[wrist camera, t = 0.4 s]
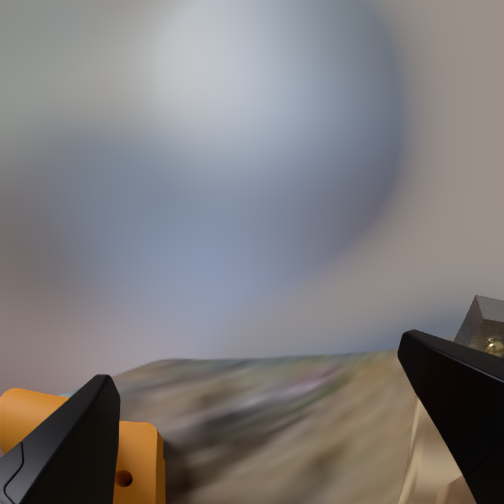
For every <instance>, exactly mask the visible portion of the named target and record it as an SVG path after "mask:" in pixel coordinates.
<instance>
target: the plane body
mask: <svg viewBox="0 0 504 504" xmlns="http://www.w3.org/2000/svg"><path fill="white" fill-rule="evenodd" d="M398 504H476V502H475V500H474V497H473V495H472V493H471V491H470V489H469V487H468V485H467V483H466V481H465V479H464V477H463V475H462V473H461V471H460V469H459V468H458V466H457V464H456V462H455V460H454V458H453V456H452V455H451V453H450V451H449V449H448V447H447V446H446V444H445V442H444V440H443V439H442V437H441V435H440V433H439V432H438V430H437V428H436V426H435V425H434V423H433V421H432V420H431V418H430V416H429V415H428V413H427V411H426V410H425V408H424V406H423V405H422V403H421V401H420V400H419V398H418V396H417V395H416V401H415V413H414V422H413V431H412V438H411V445H410V452H409V458H408V463H407V468H406V473H405V478H404V483H403V487H402V491H401V495H400V499H399V503H398Z"/></svg>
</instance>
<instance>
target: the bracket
mask: <svg viewBox="0 0 504 504" xmlns="http://www.w3.org/2000/svg"><path fill="white" fill-rule="evenodd" d="M68 399H69V398H67V397H61V396H55V395H49V394H44V393H39V392H34V391H29V390H24V389H20V388H13V389H10V390H8V391H6V392H5V393H4V394H3V395H2V396H1V398H0V447H1V449H2V450H3V452H4V454H6V453H7V452H9V451H10V450H11V449H12V448H13V447H15V446H16V445H17V444H18V443H19V442H20V441H22V440H23V439H24V438H25V437H26V436H27V435H28V434H29V433H30V432H31V431H33V430H34V429H35V428H36V427H37V426H38V425H39V424H41V423H42V422H43V421H44V420H45V419H46V418H47V417H48V416H50V415H51V414H52V413H53V412H54V411H55V410H56V409H58V408H59V407H60V406H61V405H62V404H63V403H64V402H66V401H67V400H68ZM132 479H133V481H132V483H131V485H129V486H127V483H128V481H130V480H132ZM113 504H166V496H165V460H164V459H163V438H162V437H161V435H160V434H159V432H158V431H157V429H156V428H155V426H154V425H152V424H150V423H144V422H128V421H119V447H118V456H117V464H116V473H115V484H114V496H113Z"/></svg>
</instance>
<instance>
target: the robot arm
mask: <svg viewBox="0 0 504 504" xmlns="http://www.w3.org/2000/svg"><path fill="white" fill-rule="evenodd" d="M398 359H399V361H400V363H401V365H402V367H403V369H404V371H405V373H406V375H407V377H408V379H409V381H410V383H411V385H412V387H413V389H414V391H415V393H416V395H417V396H418V398H419V400H420V401H421V403H422V405H423V406H424V408H425V410H426V411H427V413H428V415H429V416H430V418H431V420H432V421H433V423H434V425H435V426H436V428H437V430H438V432H439V433H440V435H441V437H442V439H443V440H444V442H445V444H446V446H447V447H448V449H449V451H450V453H451V455H452V456H453V458H454V460H455V462H456V464H457V466H458V468H459V469H460V471H461V473H462V475H463V477H464V479H465V481H466V483H467V485H468V487H469V489H470V491H471V493H472V495H473V497H474V500H475V502H476V504H504V358H503V357H499V356H496V355H493V354H489V353H486V352H483V351H480V350H477V349H473V348H470V347H467V346H464V345H461V344H458V343H455V342H451V341H448V340H445V339H442V338H439V337H436V336H433V335H430V334H427V333H424V332H420V331H418V330H410V331H407V332H405V333H403V335H402V338H401V341H400V346H399V349H398ZM119 421H120V395H119V393H118V391H117V388H116V386H115V384H114V382H113V380H112V378H111V376H110V375H105V374H101V375H100V374H98V375H96V376H94V377H93V378H92V379H91V380H90V381H89V382H88V383H86V384H85V385H84V386H83V387H82V388H80V389H79V390H78V391H77V392H76V393H75V394H74V395H72V396H71V397H70V398H69V399H68V400H67V401H66V402H64V403H63V404H62V405H61V406H60V407H59V408H58V409H56V410H55V411H54V412H53V413H52V414H51V415H50V416H48V417H47V418H46V419H45V420H44V421H43V422H42V423H41V424H39V425H38V426H37V427H36V428H35V429H34V430H33V431H31V432H30V433H29V434H28V435H27V436H26V437H25V438H24V439H23V440H22V441H20V442H19V443H18V444H17V445H16V446H15V447H13V448H12V449H11V450H10V451H9V452H7V453H6V454H5V455H4V456H3V457H1V458H0V504H113V496H114V484H115V473H116V464H117V456H118V447H119Z"/></svg>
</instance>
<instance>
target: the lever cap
mask: <svg viewBox="0 0 504 504" xmlns="http://www.w3.org/2000/svg"><path fill="white" fill-rule="evenodd" d="M453 342H455V343H458V344H461V345H464V346H467V347H470V348H473V349H477V350H480V351H483V352H486V353H489V354H493V355H496V356H499V357H503V358H504V301H503V300H497V299H493V298H488V297H483V296H478V295H475V297H474V300H473V302H472V304H471V307H470V309H469V311H468V313H467V315H466V317H465V319H464V321H463V323H462V325H461V327H460V329H459V332H458V333H457V335H456V337H455V339H454V341H453Z"/></svg>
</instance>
